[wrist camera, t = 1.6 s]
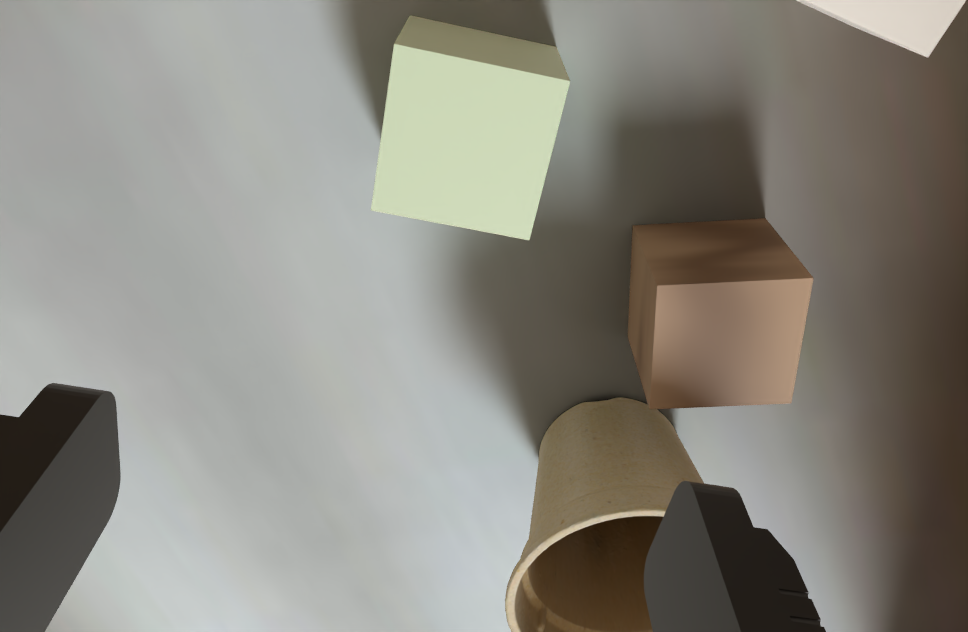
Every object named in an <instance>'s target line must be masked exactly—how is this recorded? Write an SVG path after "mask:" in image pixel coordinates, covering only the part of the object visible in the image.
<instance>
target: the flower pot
mask: <svg viewBox="0 0 968 632" xmlns="http://www.w3.org/2000/svg"><path fill="white" fill-rule="evenodd" d="M682 481H690V482H697V483H703V484H704V482H703V481H702V479H701V477H700V475H699V473H698V471H697V470H696V468H695V466H694V464H693V463H692V461H691V459H690V457H689V455H688V454H687V452H686V450H685V448H684V446H683V444H682V443H681V441H680V439H679V437H678V435H677V433H676V431H675V429H674V427H673V426H672V424H671V423H670V422H669V420H668V419H667V418H666V417H665V416H664V415H663V414H662V413H661V412H659V411H658V410H657V409H649V406H648V405H647V404H645V403H643V402H640V401H637V400H633V399H629V398H622V397H617V398H613V399H610V400H604V401H596V402H583V403H580V404H578V405H576V406H574V407H572V408H570V409H569V410H567V411H566V412H564V413H563V414H561V415H560V416H559V417H558V418H557V419H556V420H555V421H554V422H553V423H552V424H551V425H550V427H549V428H548V430H547V431H546V433H545V435H544V437H543V439H542V442H541V445H540V450H539V464H538V472H537V480H536V488H535V496H534V503H533V510H532V518H531V526H530V534H529V540H528V541H527V543H526V545H525V547H524V550H523V552H522V555H521V559H520V560H519V562H518V563H517V565H516V566H515V568H514V570H513V572H512V574H511V577H510V580H509V582H508V586H507V591H506V599H505V611H506V616H507V622H508V625H509V627H510V629H511V632H653V630H652V626H651V621H650V617H649V612H648V607H647V603H646V598H645V592H644V569H645V563H646V558H647V554H648V552H649V549H650V547H651V544H652V542H653V540H654V537H655V535H656V533H657V531H658V528H659V526H660V524H661V521H662V519H663V517H664V514H665V512H666V510H667V507H668V505H669V503H670V501H671V498H672V496H673V494H674V491H675V489H676V488H677V486H678V485H679V484H680V483H681V482H682Z"/></svg>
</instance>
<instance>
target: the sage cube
mask: <svg viewBox="0 0 968 632" xmlns="http://www.w3.org/2000/svg"><path fill="white" fill-rule="evenodd" d="M569 84H570V79H569V77H568V74H567V72H566V70H565V67H564V65H563V62H562V60H561V57H560V55H559V52H558V50H557V47H554V46H550V45H545V44H541V43H536V42H531V41H527V40H522V39H517V38H513V37H508V36H504V35H499V34H494V33H490V32H485V31H480V30H476V29H471V28H467V27H462V26H457V25H453V24H448V23H443V22H439V21H434V20H430V19H425V18H420V17H416V16H411V15H410V16H409V18H408V19H407V21H406V23H405V25H404V27H403V28H402V30H401V32H400V34H399V36H398V38H397V39H396V41H395V43H394V48H393V55H392V62H391V69H390V76H389V84H388V91H387V98H386V105H385V112H384V120H383V127H382V134H381V141H380V148H379V156H378V163H377V170H376V177H375V184H374V192H373V199H372V206H371V210H372V211H377V212H382V213H388V214H393V215H398V216H403V217H409V218H414V219H419V220H425V221H430V222H435V223H440V224H446V225H451V226H456V227H461V228H467V229H472V230H477V231H482V232H488V233H493V234H498V235H504V236H509V237H514V238H519V239H525V240H530V236H531V232H532V228H533V224H534V220H535V216H536V212H537V209H538V205H539V201H540V197H541V193H542V189H543V185H544V181H545V177H546V174H547V170H548V166H549V162H550V158H551V154H552V150H553V146H554V142H555V138H556V135H557V131H558V127H559V123H560V119H561V115H562V111H563V107H564V103H565V99H566V96H567V92H568V88H569Z"/></svg>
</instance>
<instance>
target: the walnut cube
mask: <svg viewBox="0 0 968 632" xmlns="http://www.w3.org/2000/svg"><path fill="white" fill-rule="evenodd" d="M812 284H813V277H812V276H811V274H810V273H809V272H808V271H807V269H806V268H805V267H804V266H803V264H802V263H801V262H800V261H799V259H798V258H797V257H796V256H795V254H794V253H793V252H792V251H791V249H790V248H789V247H788V246H787V245H786V243H785V242H784V241H783V240H782V238H781V237H780V236H779V235H778V233H777V232H776V231H775V230H774V228H773V227H772V226H771V225H770V223H769V222H768V221H767V220H766V218H762V219H742V220H723V221H704V222H685V223H666V224H647V225H633V226H632V249H631V273H630V296H629V320H628V339H629V343H630V346H631V349H632V353H633V356H634V359H635V363H636V366H637V369H638V373H639V376H640V380H641V383H642V386H643V390H644V393H645V396H646V400H647V403H648V406H649V409H670V408H693V407H716V406H739V405H763V404H786V403H791V401H792V396H793V390H794V385H795V379H796V373H797V368H798V362H799V356H800V351H801V345H802V340H803V334H804V328H805V323H806V317H807V312H808V306H809V300H810V295H811V289H812Z"/></svg>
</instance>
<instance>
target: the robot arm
mask: <svg viewBox="0 0 968 632" xmlns="http://www.w3.org/2000/svg"><path fill="white" fill-rule="evenodd" d="M119 487H120V459H119V443H118V427H117V411H116V401H115V397H114V395H113V394H112V393H111V392H109V391H103V390H96V389H90V388H83V387H76V386H70V385H63V384H57V383H51V384H49V385H47V386H46V387H45V388H44V389H43V390H42V391H41V392H40V393H39V394H38V395H37V397H36V398H35V399H34V400H33V401H32V402H31V404H30V405H29V406H28V407H27V408H26V410H25V411H24V412H23V413H22V414H21V415H20V417H13V416H6V415H0V632H45V630H46V628H47V627H48V625H49V623H50V621H51V620H52V618H53V616H54V615H55V613H56V611H57V609H58V608H59V606H60V604H61V602H62V601H63V599H64V597H65V596H66V594H67V592H68V590H69V589H70V587H71V585H72V583H73V582H74V580H75V578H76V576H77V575H78V573H79V571H80V570H81V568H82V566H83V564H84V563H85V561H86V559H87V557H88V556H89V554H90V552H91V551H92V549H93V547H94V545H95V544H96V542H97V540H98V538H99V537H100V535H101V533H102V531H103V530H104V528H105V526H106V525H107V523H108V521H109V519H110V517H111V515H112V512H113V510H114V507H115V504H116V501H117V497H118V492H119ZM644 592H645V598H646V603H647V607H648V612H649V617H650V621H651V626H652V630H653V632H826V631H825V629H824V627H821V626H820V617H819V615H818V613H817V611H816V608H815V606H814V604H813V602H812V599H808V590H807V588H806V586H805V584H804V581H803V579H802V577H801V575H800V573H799V570H798V568H797V566H796V564H795V561H794V559H793V558H792V557H791V556H790V555H789V554H788V552H787V551H786V550H785V549H784V548H783V547H782V546H781V544H780V543H779V542H778V541H777V540H776V539H775V538H774V536H773V535H772V534H771V533H770V532H769V531H768V529H761V528H754V527H753V525H752V523H751V520H750V518H749V515H748V513H747V510H746V508H745V505H744V503H743V500H742V498H741V496H740V494H739V493H738V491H737V490H735V489H734V488H729V487H723V486H716V485H710V484H703V483H697V482H690V481H682V482H681V483H680V484H679V485H678V486H677V488H676V489H675V491H674V494H673V496H672V498H671V501H670V503H669V505H668V507H667V510H666V512H665V514H664V517H663V519H662V521H661V524H660V526H659V528H658V531H657V533H656V535H655V537H654V540H653V542H652V544H651V547H650V549H649V552H648V554H647V558H646V563H645V569H644Z"/></svg>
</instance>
